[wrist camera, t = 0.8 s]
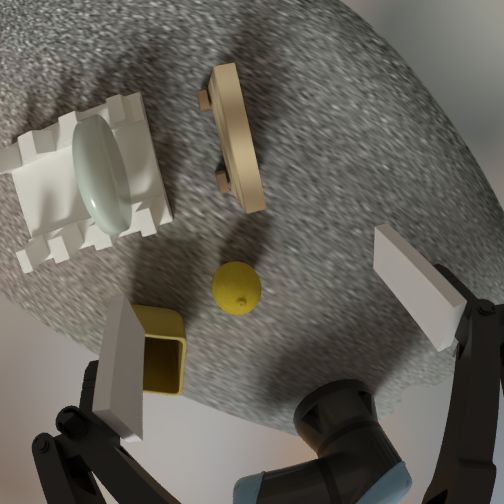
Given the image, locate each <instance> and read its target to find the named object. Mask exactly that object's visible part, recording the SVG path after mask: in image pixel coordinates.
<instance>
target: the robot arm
mask: <svg viewBox="0 0 504 504" xmlns="http://www.w3.org/2000/svg"><path fill="white" fill-rule="evenodd" d="M373 269H374V270H375V271H376V272H377V274H378V275H379V276H380V277H381V278H382V280H383V281H384V282H385V283H386V285H387V286H388V287H389V288H390V289H391V291H392V292H393V293H394V294H395V296H396V297H397V298H398V299H399V301H400V302H401V303H402V304H403V306H404V307H405V308H406V310H407V311H408V312H409V313H410V315H411V316H412V317H413V319H414V320H415V321H416V322H417V324H418V325H419V326H420V328H421V329H422V330H423V332H424V333H425V334H426V336H427V337H428V338H429V340H430V341H431V342H432V344H433V345H434V346H435V348H436V349H437V350H438V352H439V351H441V350H443V349H445V348H447V347H449V346H451V344H452V342H453V339H454V337H455V338H456V339H457V340H458V341H459V342H458V344H457V347H456V349H455V351H454V354H453V357H455V355H456V362H455V371H454V379H453V387H452V393H451V400H450V406H449V412H448V417H447V422H446V427H445V432H444V437H443V441H442V446H441V450H440V454H439V458H438V461H437V465H436V469H435V473H434V476H433V479H432V481H431V484H430V485H429V487H428V489H427V491H426V493H425V495H424V498H423V501H422V504H490V501H491V496H492V492H493V488H494V483H495V478H496V466H495V465H494V464H493V461H492V459H493V452H494V445H495V438H496V429H497V420H498V409H499V392H500V379H501V384H502V389H503V395H504V304H499V305H494V304H493V303H492V302H490V301H489V300H485V299H477V298H476V297H475V296H474V294H473V293H472V292H471V291H470V290H469V289H468V288H467V287H466V286H465V285H464V284H463V283H462V282H461V281H459V279H458V278H457V277H456V276H454V274H453V273H452V272H451V271H450V270H448V269H447V268H446V267H444V266H442V265H440V264H435V265H433V266H432V265H431V264H430V263H429V262H428V261H427V260H426V259H425V258H424V257H423V256H422V255H421V254H420V253H419V252H418V251H417V250H416V249H415V248H414V247H412V246H411V245H410V244H409V243H408V242H407V241H406V240H405V239H404V238H403V237H402V236H401V235H399V234H398V233H397V232H396V231H395V230H394V229H393V228H392V227H391V226H390V225H388V224H387V223H386V224H383V225H379V226H375V242H374V265H373ZM144 343H145V330H144V329H143V327H142V325H141V323H140V321H139V320H138V318H137V316H136V314H135V312H134V311H133V309H132V307H131V305H130V303H129V301H128V299H127V298H126V296H125V294H122V295H118V296H114V297H111V301H110V305H109V310H108V315H107V319H106V324H105V329H104V335H103V340H102V346H101V351H100V357H99V360H96V361H91V362H90V363H89V365H88V367H87V368H86V370H85V374H84V380H83V381H84V382H83V385H82V389H83V390H82V392H81V398H80V405H79V408H78V407H76V406H72V405H71V406H67V407H65V408H63V409H62V410H61V411H60V412H59V413H58V415H57V418H56V427H57V430H58V431H60V432H61V433H62V434H60V435H58V436H55V437H52V436H51V435H50V434H48V433H41V434H39V435H38V436H36V437H35V439H34V441H33V443H32V453H33V457H34V461H35V465H36V468H37V472H38V475H39V478H40V482H41V485H42V488H43V491H44V495H45V497H46V500H47V503H48V504H106V501H105V499H104V498H103V495H102V493H101V491H100V489H99V487H98V485H97V483H96V480H95V478H94V476H93V474H92V471H93V473H94V474H95V475H96V477H97V478H98V479H99V480H100V482H101V483H102V484H103V485H104V486H105V488H106V489H107V490H108V491H109V493H110V494H111V495H112V496H113V497H114V499H115V500H116V501H117V502H118V503H119V504H181V503H180V502H179V501H178V500H177V499H176V498H174V497H173V496H172V495H171V494H170V493H168V491H167V490H165V489H164V488H163V487H162V486H161V485H160V484H159V483H158V482H157V481H156V480H155V479H154V478H153V477H152V476H150V474H149V473H148V472H147V471H145V470H144V469H143V468H142V467H141V466H140V465H139V463H138V462H137V461H136V460H135V459H134V458H133V457H132V456H131V455H130V454H129V453H128V452H127V451H126V450H125V449H124V448H123V447H122V446H121V445H120V437H121V438H122V439H124V440H125V441H126V442H135V441H143V437H142V436H143V434H142V433H143V432H142V400H143V398H142V397H143V364H144ZM293 421H294V425H295V428H296V430H297V433H298V434H299V436H300V437H301V438H302V439H303V440H304V441H305V442H306V443H307V444H308V445H309V446H310V447H311V448H312V449H313V450H314V451H315V452H316V454H317V456H318V459H315V460H311V461H308V462H304V463H301V464H297V465H293V466H290V467H286V468H282V469H278V470H273V471H268V472H265V471H262V472H261V473H258V474H255V475H250V476H246V477H243V478H241V479H239V480H238V481H237V482H236V484H235V486H234V490H233V504H397V503H398V502H399V501H400V500H401V499H402V498H403V497H404V496H405V495H406V494H407V492H408V491H409V489H410V488H411V485H412V479H411V476H410V474H409V472H408V470H407V468H406V466H405V462H404V461H402V459H401V458H400V456H399V455H398V453H397V451H396V450H395V448H394V447H393V445H392V443H391V442H390V440H389V439H388V437H387V436H386V434H385V432H384V431H383V429H382V428H381V426H380V424H379V423H378V418H377V413H376V407H375V401H374V397H373V395H372V393H371V391H370V390H369V388H368V387H367V386H366V385H365V384H364V383H363V382H361V381H357V380H341V381H337V382H333V383H330V384H328V385H325V386H323V387H321V388H319V389H318V390H316V391H314V392H313V393H311V394H310V395H309V396H308V397H306V398H305V399H304V400H303V401H302V402H301V404H300V405H299V406H298V408H297V409H296V411H295V414H294V419H293Z"/></svg>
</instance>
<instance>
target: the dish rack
mask: <svg viewBox="0 0 504 504" xmlns="http://www.w3.org/2000/svg"><path fill="white" fill-rule="evenodd" d="M95 114H98V115H100V116H102V117H103V118H104V119H105V121H106V122H107V123H108V125H109V127H110V128H111V130H112V132H113V135H114V137H115V139H116V142H117V144H118V147H119V150H120V153H121V156H122V159H123V162H124V166H125V170H126V174H127V178H128V183H129V189H130V195H131V203H132V221H131V225H130V228H129V229H128V230H127V231H124V232H121V233H118V234H114V235H107V234H105V233H104V232H102V231H101V230H100V229H99V227H98V226H97V225H96V224H95V222H94V221H93V219H92V218H91V216H90V214H89V212H88V210H87V208H86V206H85V204H84V201H83V199H82V196H81V193H80V190H79V187H78V183H77V180H76V176H75V171H74V165H73V156H72V139H73V132H74V129H75V126H76V124H77V123H78V122H79V121H80V120H82V119H85V118H87V117H90V116H92V115H95ZM58 119H59V122H57V123H55V124H53V125H51V126H48V127H46V128H44V129H42V130H31V131H29V132H27V133H25V134H23V135H21V136H19V137H17V138H18V142H16V143H14V144H12V145H10V146H8V147H6V148H3V149H0V174H4V173H7V174H9V173H12V176H13V180H14V184H15V187H16V191H17V194H18V198H19V201H20V204H21V207H22V211H23V214H24V217H25V220H26V223H27V226H28V228H29V231H30V234H31V237H32V238H31V239H29V240H28V241H29V242H28V243H27V244H26V245H25V246H23V247H22V248H21V249H19V250H18V251H17V252H16V255H17V257H18V260H19V262H20V265H21V267H22V270H23V272H24V274H25V273H28V272H31V271H34V270H35V269H36V268H37V267H38V266H39V265H40V264H41V263H42V262H43V261H45V260H48V259H51V258H54V259H55V262H56V263H59V262H62V261H65V260H68V259H70V258H71V257H72V256H73V255H74V254H75V253H76V252H77V250H78V249H81V248H85V247H88V246H91V245H95V248H96V250H100V249H104V248H107V247H110V246H113V244H114V243H115V242H116V240H117V239H118V237H120V236H124V235H127V234H130V233H134V232H137V231H141V233H142V236H143V237H144V236H148V235H151V234H155V233H157V231H158V228H159V225H162V224H165V223H169V222H172V221H173V216H172V213H171V209H170V205H169V202H168V198H167V195H166V191H165V187H164V184H163V180H162V176H161V173H160V169H159V165H158V161H157V157H156V153H155V149H154V145H153V141H152V137H151V133H150V129H149V125H148V120H147V116H146V112H145V107H144V103H143V99H142V94H141V93H140V92H137V93H134V94H131V95H128V96H123V95H121V94H118V95H115V96H112V97H109V98H107V99H106V103H105V104H102V105H99V106H97V107H94V108H91V109H89V110H86V111H84V112H78V111H73V112H71V113H68V114H66V115H64V116H61V117H59V118H58Z"/></svg>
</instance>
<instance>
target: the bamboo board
mask: <svg viewBox="0 0 504 504" xmlns="http://www.w3.org/2000/svg"><path fill="white" fill-rule="evenodd" d="M208 91H209V96H210V100H211V105H212V109H213V113H214V118H215V122H216V126H217V131H218V135H219V139H220V144H221V148H222V152H223V157H224V161H225V165H226V170H227V174H228V178H229V183H230V187H231V191H232V193H233V194H234V195H235V197H236V198H237V200H238V201H239V203H240V204H241V205H242V207H243V208H244V210H245V211H246V213H247V214H248V213H252V212H256V211H260V210H264V209H267V208H266V204H265V199H264V194H263V189H262V184H261V180H260V175H259V170H258V165H257V161H256V156H255V151H254V147H253V142H252V138H251V133H250V128H249V124H248V119H247V115H246V110H245V106H244V101H243V97H242V93H241V88H240V84H239V79H238V75H237V71H236V66H235V63H229V64H224V65H219V66H214V68H213V71H212V75H211V78H210V82H209V85H208Z"/></svg>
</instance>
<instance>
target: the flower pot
mask: <svg viewBox="0 0 504 504" xmlns="http://www.w3.org/2000/svg"><path fill="white" fill-rule="evenodd" d="M131 307H132V309H133V311H134V312H135V314H136V316H137V318H138V320H139V321H140V323H141V325H142V327H143V329H144V330H145V343H144V364H143V392H145V393H155V394H163V395H174V396H177V395H181V394H182V389H183V375H184V364H185V355H186V346H187V340H186V333H185V327H184V322H183V319H182V317H181V315H180V314H179V313H178V312H176V311H174V310H172V309H168V308H159V307H151V306H143V305H131Z"/></svg>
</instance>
